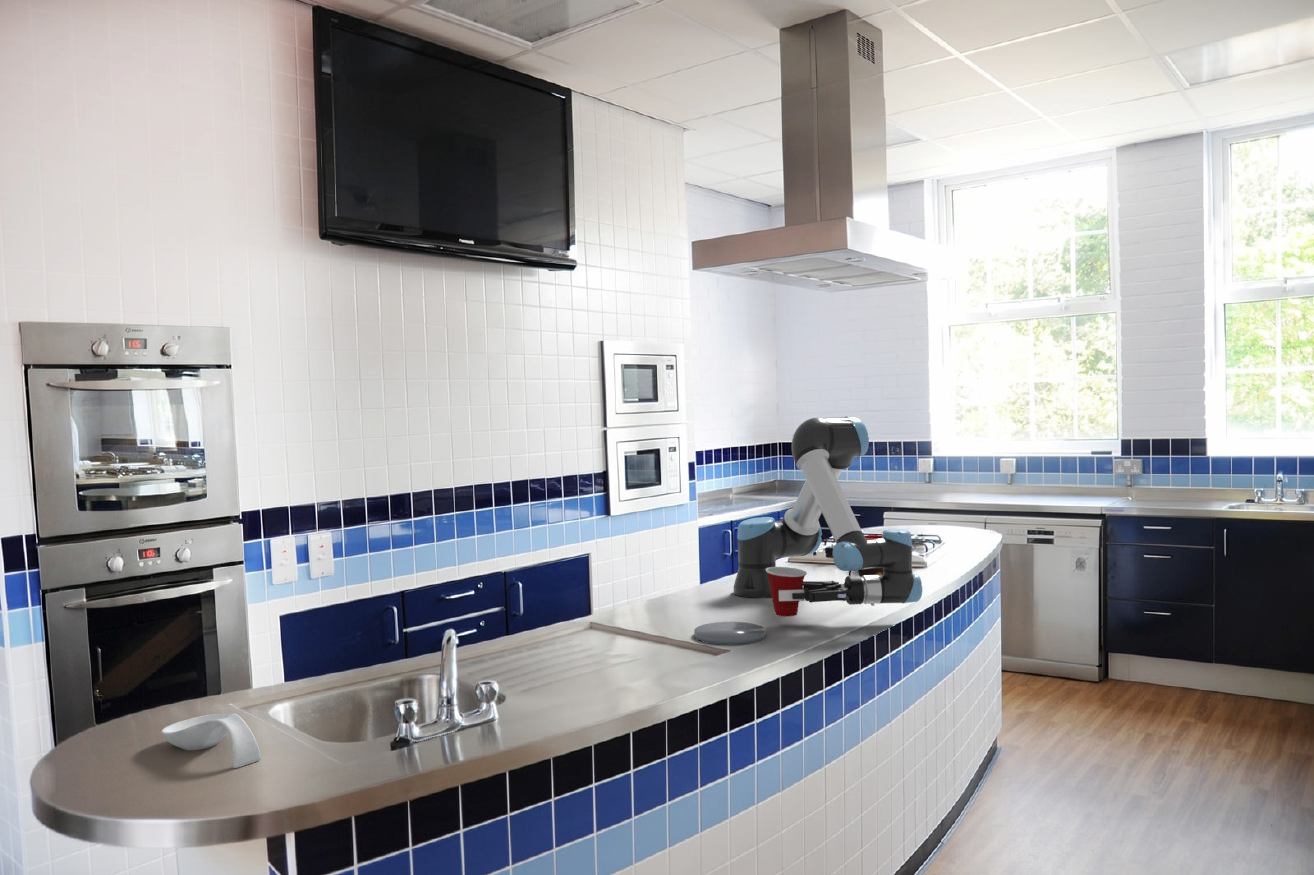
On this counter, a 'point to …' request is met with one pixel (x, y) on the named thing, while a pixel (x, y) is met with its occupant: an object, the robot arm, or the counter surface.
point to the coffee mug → (869, 571)
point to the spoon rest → (215, 736)
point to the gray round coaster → (729, 633)
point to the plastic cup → (784, 588)
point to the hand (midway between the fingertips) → (776, 592)
